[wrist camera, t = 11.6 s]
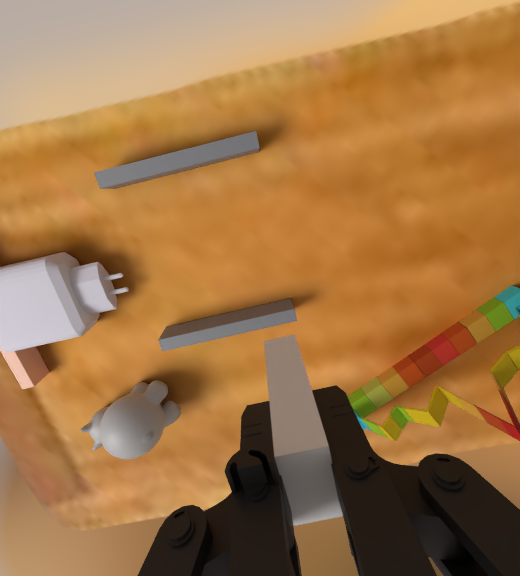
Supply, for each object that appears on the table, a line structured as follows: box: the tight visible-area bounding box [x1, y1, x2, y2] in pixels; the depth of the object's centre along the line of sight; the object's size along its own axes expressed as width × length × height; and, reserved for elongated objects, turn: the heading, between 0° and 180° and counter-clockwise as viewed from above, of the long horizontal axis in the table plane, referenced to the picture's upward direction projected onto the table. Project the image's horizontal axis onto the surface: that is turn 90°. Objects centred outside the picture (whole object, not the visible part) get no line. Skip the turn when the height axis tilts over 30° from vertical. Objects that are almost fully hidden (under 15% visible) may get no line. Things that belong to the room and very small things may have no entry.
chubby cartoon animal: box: [81, 380, 181, 459], centre depth 38 cm, size 7×12×8 cm, turn 108°
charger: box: [0, 252, 129, 353], centre depth 34 cm, size 5×9×15 cm
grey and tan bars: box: [0, 131, 297, 389], centre depth 34 cm, size 34×22×4 cm, turn 103°
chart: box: [348, 286, 520, 441], centre depth 34 cm, size 30×3×15 cm, turn 130°
